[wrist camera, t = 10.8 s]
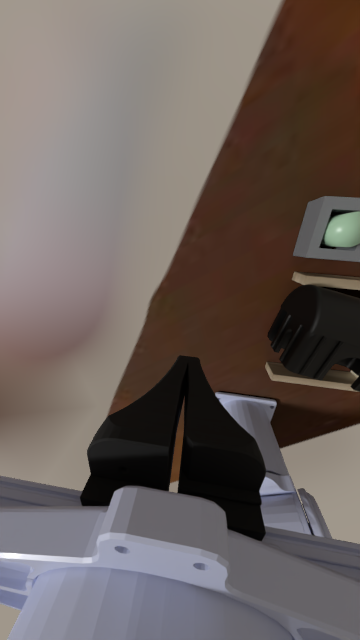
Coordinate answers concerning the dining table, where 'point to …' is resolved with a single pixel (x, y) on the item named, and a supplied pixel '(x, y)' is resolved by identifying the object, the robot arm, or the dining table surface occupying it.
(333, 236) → the button
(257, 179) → the dining table surface
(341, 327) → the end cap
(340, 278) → the cream square frame
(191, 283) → the dining table surface
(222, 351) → the dining table surface
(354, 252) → the button housing
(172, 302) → the dining table surface
